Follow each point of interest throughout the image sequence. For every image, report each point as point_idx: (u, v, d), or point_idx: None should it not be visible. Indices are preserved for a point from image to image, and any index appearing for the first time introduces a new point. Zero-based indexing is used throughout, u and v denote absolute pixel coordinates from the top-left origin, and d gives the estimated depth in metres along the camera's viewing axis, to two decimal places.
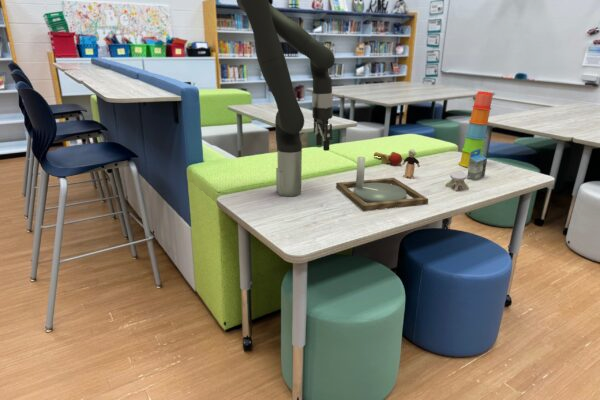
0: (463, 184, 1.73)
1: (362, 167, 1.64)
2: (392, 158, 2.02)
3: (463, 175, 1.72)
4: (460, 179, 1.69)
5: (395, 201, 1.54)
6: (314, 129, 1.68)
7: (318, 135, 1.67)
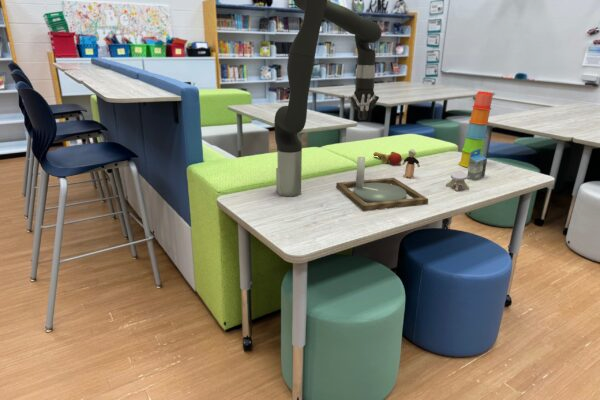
0: (463, 184, 1.73)
1: (362, 167, 1.64)
2: (392, 158, 2.02)
3: (464, 175, 1.72)
4: (460, 179, 1.69)
5: (395, 201, 1.54)
6: (357, 105, 1.74)
7: None
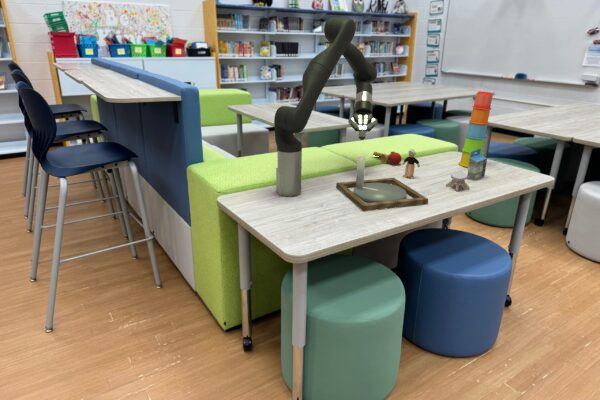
0: (464, 184, 1.73)
1: (362, 167, 1.64)
2: (391, 158, 2.03)
3: (464, 175, 1.72)
4: (461, 179, 1.69)
5: (395, 201, 1.54)
6: (355, 124, 1.81)
7: None
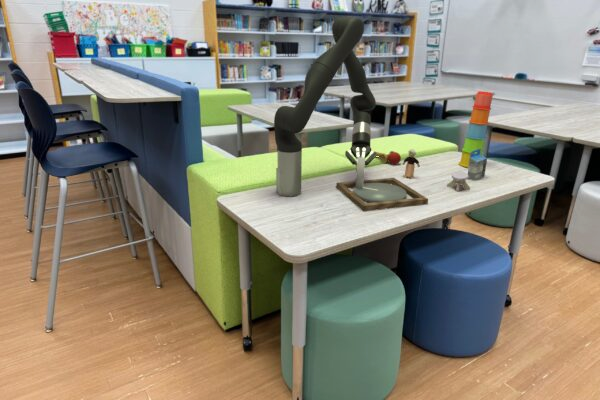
0: (464, 184, 1.73)
1: (362, 167, 1.64)
2: (391, 157, 2.03)
3: (465, 175, 1.72)
4: (461, 179, 1.69)
5: (395, 201, 1.54)
6: (353, 158, 1.70)
7: None
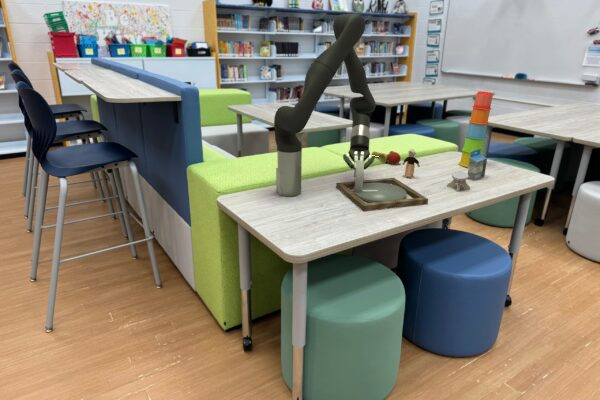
0: (465, 184, 1.73)
1: (363, 170, 1.60)
2: (391, 157, 2.03)
3: (465, 175, 1.72)
4: (462, 179, 1.69)
5: (395, 201, 1.54)
6: (351, 162, 1.66)
7: None
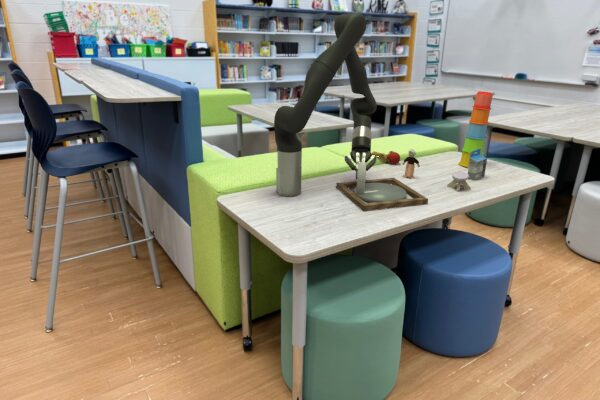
0: (465, 184, 1.73)
1: (365, 172, 1.59)
2: (390, 157, 2.04)
3: (465, 175, 1.72)
4: (462, 179, 1.69)
5: (395, 201, 1.54)
6: (352, 163, 1.64)
7: None
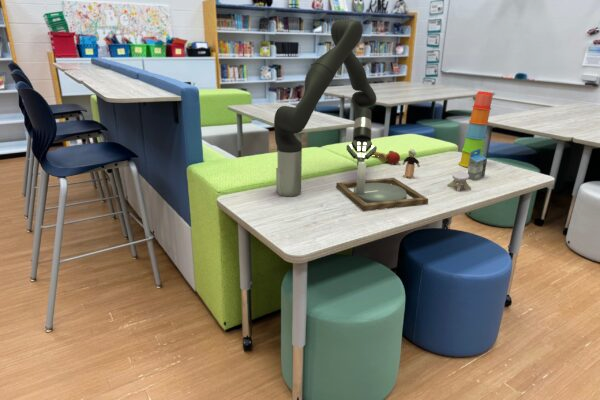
0: (465, 184, 1.73)
1: (365, 172, 1.59)
2: (390, 157, 2.04)
3: (465, 175, 1.72)
4: (462, 179, 1.69)
5: (395, 201, 1.54)
6: (354, 152, 1.75)
7: (360, 158, 1.74)
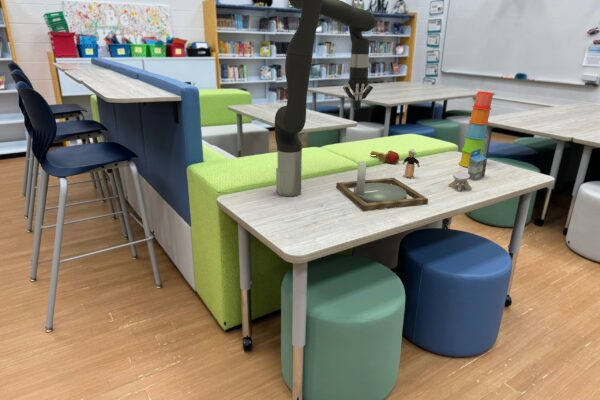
0: (466, 184, 1.73)
1: (365, 172, 1.59)
2: (389, 156, 2.05)
3: (466, 175, 1.72)
4: (463, 179, 1.69)
5: (395, 201, 1.54)
6: (352, 95, 1.74)
7: None
